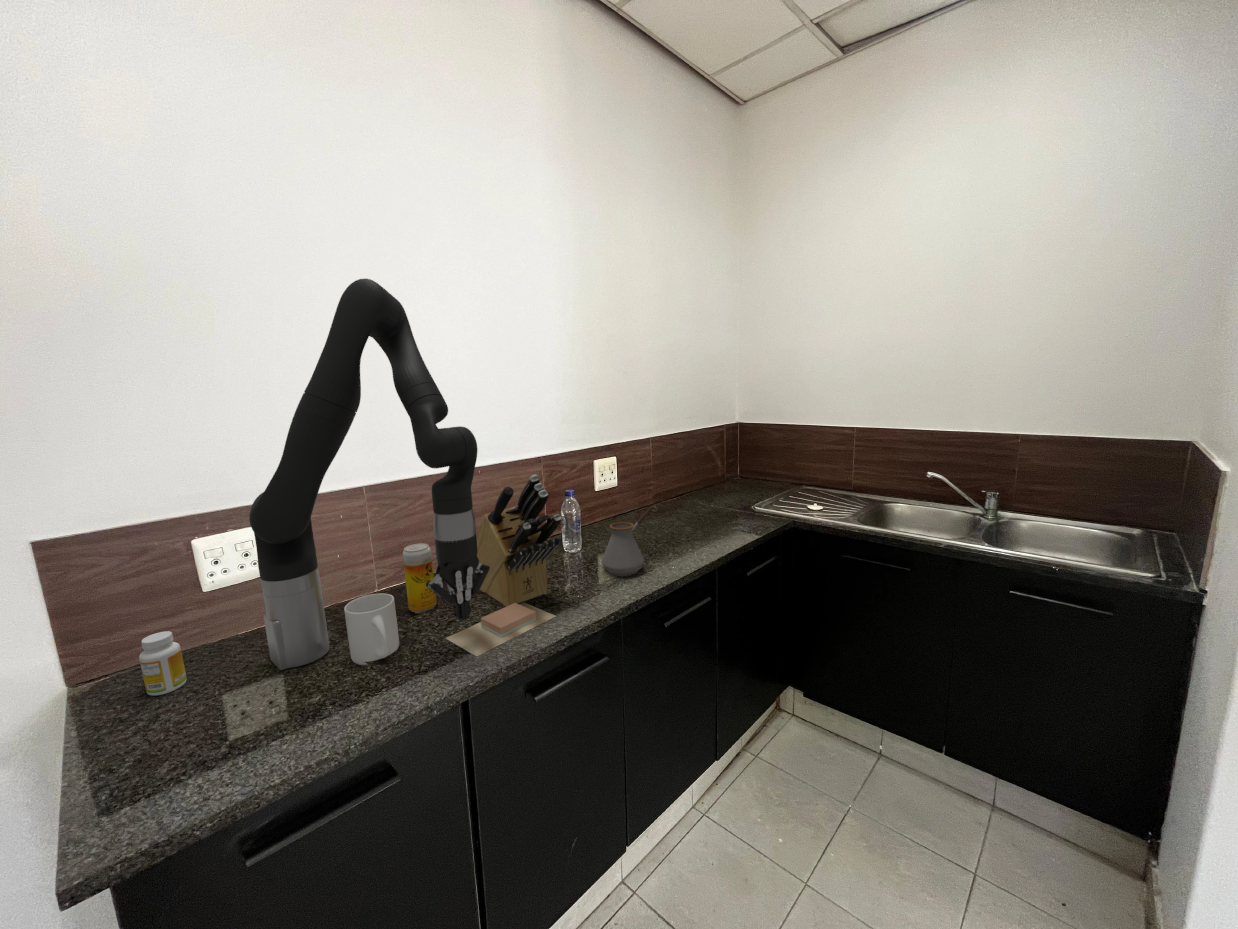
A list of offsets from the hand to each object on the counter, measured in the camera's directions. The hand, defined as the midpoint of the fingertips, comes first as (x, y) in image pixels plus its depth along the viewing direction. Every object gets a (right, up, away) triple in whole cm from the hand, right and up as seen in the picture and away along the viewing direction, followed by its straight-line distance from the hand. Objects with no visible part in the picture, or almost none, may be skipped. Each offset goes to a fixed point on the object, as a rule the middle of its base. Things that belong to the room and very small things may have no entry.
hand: (462, 618), depth 97 cm
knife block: (+4, -2, +26) cm, 26 cm away
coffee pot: (+35, +2, +42) cm, 54 cm away
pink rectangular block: (+4, -3, +5) cm, 7 cm away
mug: (-16, -7, -1) cm, 18 cm away
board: (+6, -5, +7) cm, 11 cm away
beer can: (-15, -4, +19) cm, 25 cm away
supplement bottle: (-50, -10, -8) cm, 52 cm away
